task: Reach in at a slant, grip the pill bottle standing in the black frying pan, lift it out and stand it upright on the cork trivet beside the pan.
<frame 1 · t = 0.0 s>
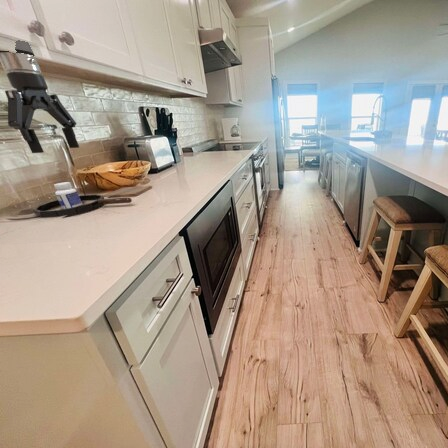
hand: (57, 150, 78), 19 cm above the countertop, tool pointing down, fingers open, 13 cm apart
trivet: (129, 192, 98), on the countertop
pill bottle: (74, 209, 81), resting in pan
pan: (73, 209, 81), on the countertop
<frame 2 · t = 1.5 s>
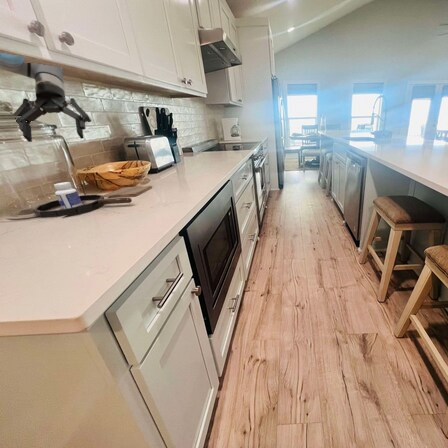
hand: (54, 137, 80), 22 cm above the countertop, tool tilted 45°, fingers open, 13 cm apart
nothing on the countertop moved.
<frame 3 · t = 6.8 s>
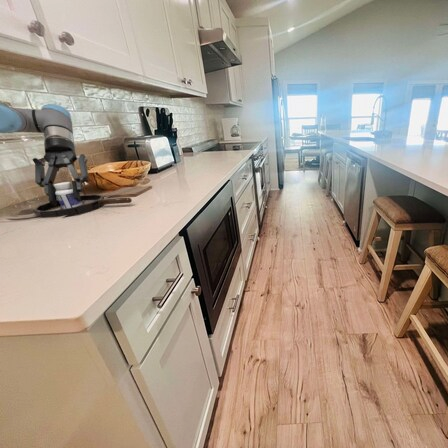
hand: (65, 201, 76), 4 cm above the countertop, tool tilted 45°, fingers closed on pill bottle, 5 cm apart
pill bottle: (74, 209, 81), resting in pan, touching gripper
when the fingers open (5 cm above the countertop, at t = 14.7 s): pill bottle stays where it is, resting on trivet.
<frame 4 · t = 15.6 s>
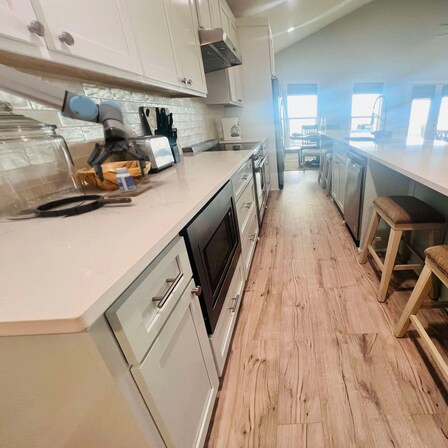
hand: (123, 177, 93), 7 cm above the countertop, tool tilted 45°, fingers open, 13 cm apart
pill bottle: (128, 190, 97), point 1 cm above the countertop, touching trivet
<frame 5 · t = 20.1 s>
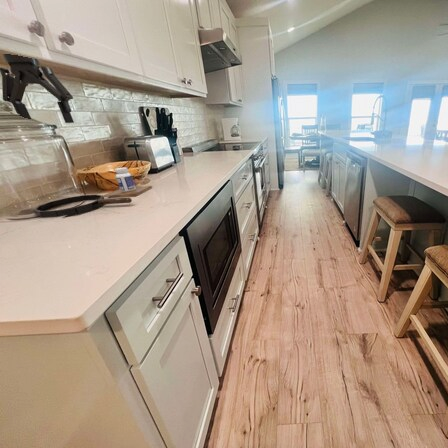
hand: (49, 124, 83), 27 cm above the countertop, tool pointing down, fingers open, 13 cm apart
nothing on the countertop moved.
at the end: pill bottle inside the target area (0.0 cm from its centre), point 0.8 cm above the countertop; pill bottle tilted 0°; the gripper is holding nothing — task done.
